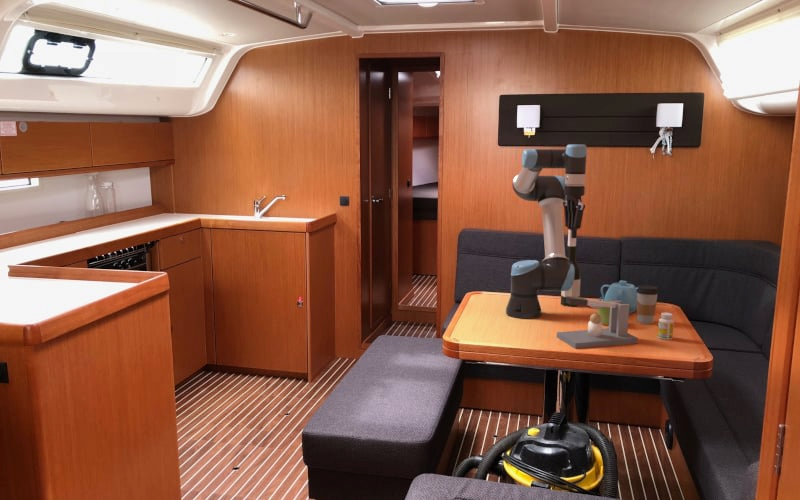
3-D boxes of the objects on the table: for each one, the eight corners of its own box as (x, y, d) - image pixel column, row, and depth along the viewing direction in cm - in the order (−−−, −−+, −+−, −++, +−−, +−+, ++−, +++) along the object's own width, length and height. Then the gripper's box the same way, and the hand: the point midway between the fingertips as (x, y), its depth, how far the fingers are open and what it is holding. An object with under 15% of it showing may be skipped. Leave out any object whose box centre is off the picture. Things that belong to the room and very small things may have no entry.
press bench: (556, 337, 247) (558, 302, 245) (616, 332, 253) (618, 297, 251) (575, 348, 234) (577, 311, 231) (637, 343, 240) (640, 306, 238)
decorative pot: (595, 307, 292) (596, 277, 290) (627, 305, 296) (628, 276, 294) (614, 316, 277) (616, 285, 274) (647, 314, 280) (649, 283, 278)
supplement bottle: (660, 340, 244) (662, 315, 242) (655, 335, 249) (657, 311, 247) (674, 340, 244) (676, 315, 242) (669, 336, 249) (671, 312, 247)
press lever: (565, 303, 240) (566, 296, 239) (618, 309, 246) (619, 301, 245) (569, 306, 236) (571, 298, 236) (623, 311, 242) (625, 303, 242)
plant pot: (619, 322, 268) (620, 302, 266) (616, 328, 259) (618, 307, 258) (596, 319, 272) (597, 299, 270) (593, 325, 263) (594, 304, 262)
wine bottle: (559, 302, 301) (562, 238, 296) (578, 302, 300) (581, 239, 295) (561, 306, 293) (564, 241, 288) (580, 307, 292) (583, 242, 287)
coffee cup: (657, 325, 263) (660, 289, 260) (636, 324, 265) (638, 288, 262) (654, 320, 271) (656, 285, 268) (633, 318, 273) (635, 284, 270)
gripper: (557, 184, 250) (555, 243, 254) (574, 186, 238) (571, 249, 242) (574, 183, 252) (572, 243, 256) (592, 186, 240) (589, 248, 244)
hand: (571, 246), depth 249 cm, fingers closed
